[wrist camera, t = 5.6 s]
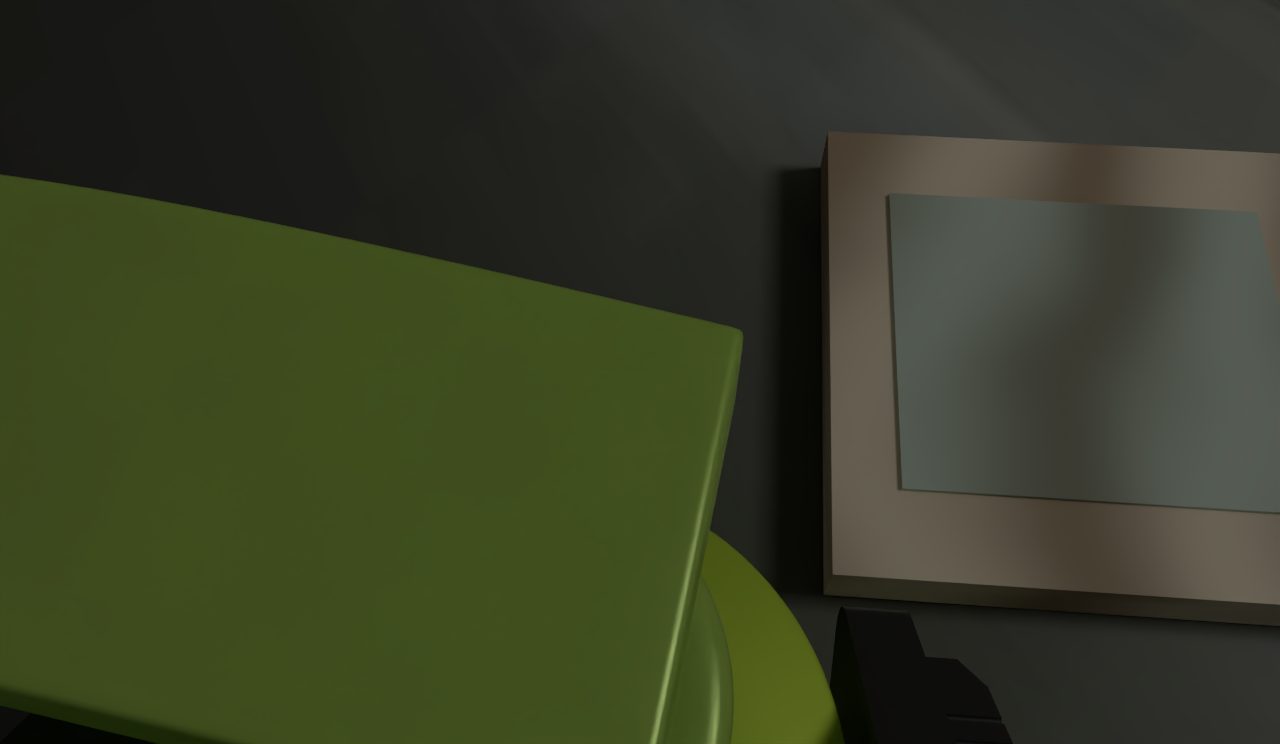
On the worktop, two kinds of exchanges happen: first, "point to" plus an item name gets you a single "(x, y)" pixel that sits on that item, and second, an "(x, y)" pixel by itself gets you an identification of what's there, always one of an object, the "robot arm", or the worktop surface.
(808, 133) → the worktop surface
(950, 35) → the worktop surface
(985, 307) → the board
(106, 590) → the soap dispenser
